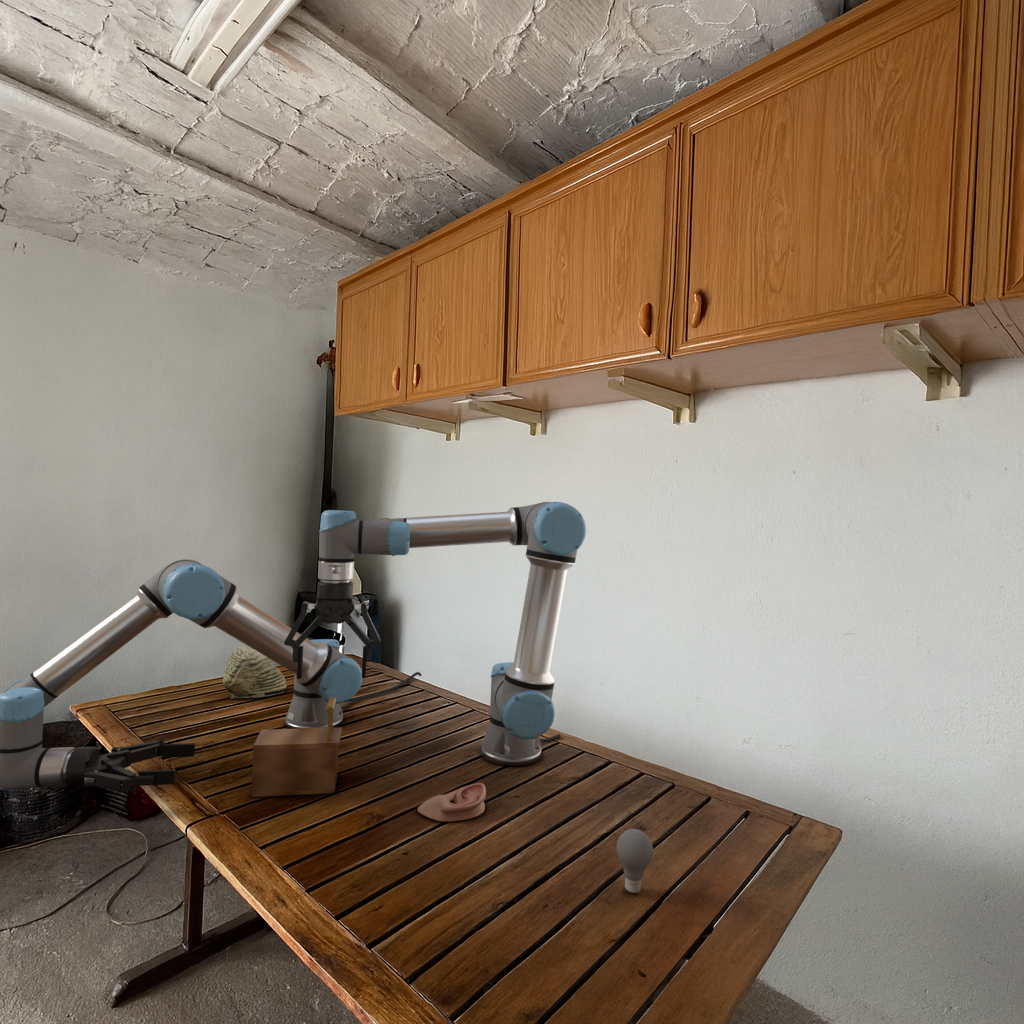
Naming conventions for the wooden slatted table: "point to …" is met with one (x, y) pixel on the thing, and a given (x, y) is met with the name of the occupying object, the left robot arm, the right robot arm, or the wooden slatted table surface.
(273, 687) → the fossil
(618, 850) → the light bulb
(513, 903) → the wooden slatted table surface
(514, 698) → the right robot arm
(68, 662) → the left robot arm
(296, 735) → the lid
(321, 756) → the chest
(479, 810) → the anatomical model
